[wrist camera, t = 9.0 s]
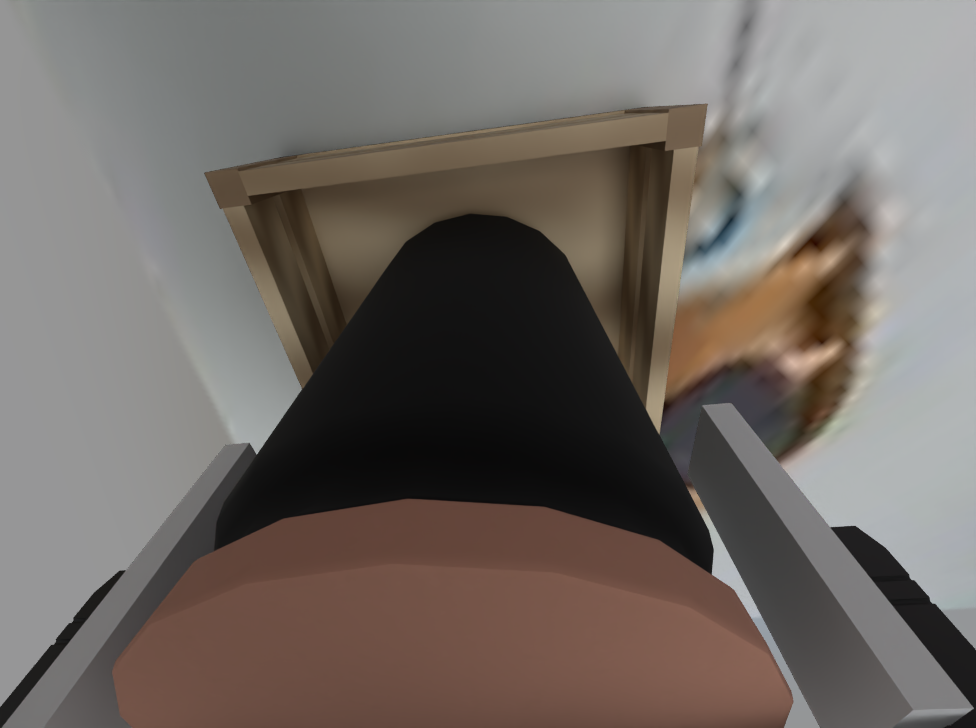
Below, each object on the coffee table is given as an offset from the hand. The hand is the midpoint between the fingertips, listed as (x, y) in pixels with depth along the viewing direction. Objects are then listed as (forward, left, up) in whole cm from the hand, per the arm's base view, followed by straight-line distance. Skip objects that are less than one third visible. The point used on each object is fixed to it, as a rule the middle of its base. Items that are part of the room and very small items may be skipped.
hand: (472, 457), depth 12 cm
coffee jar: (0, 0, -12) cm, 12 cm away
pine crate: (0, 0, -12) cm, 13 cm away
